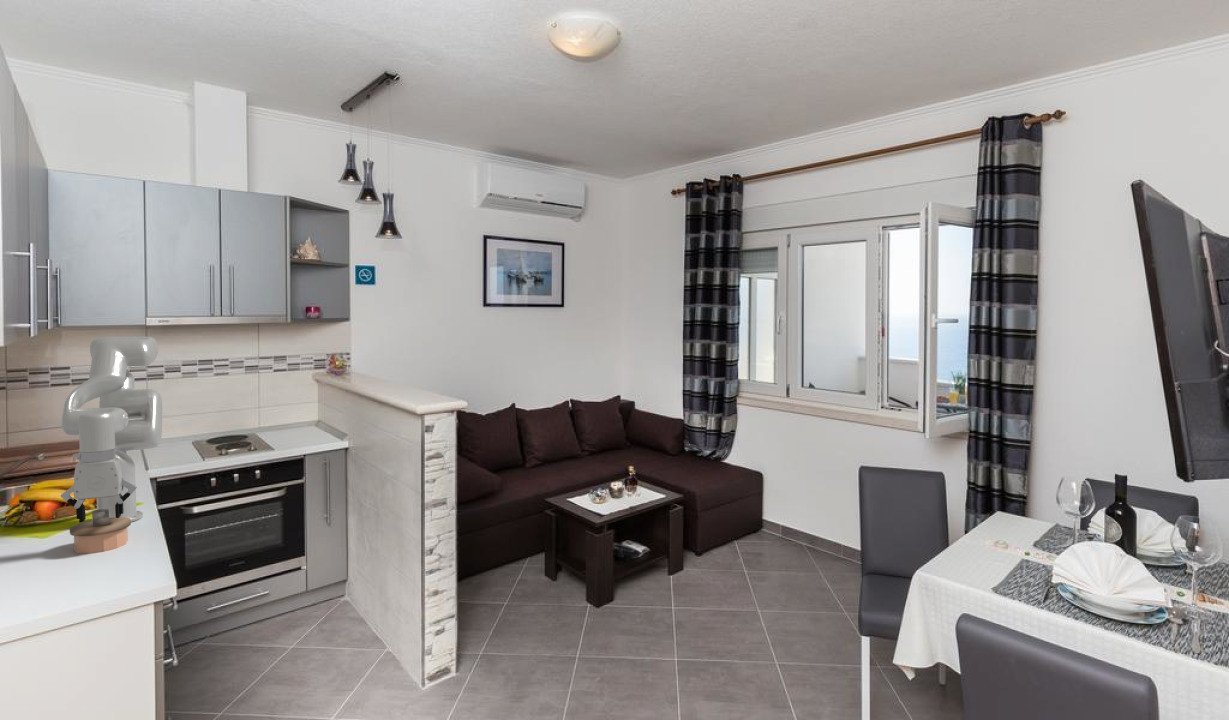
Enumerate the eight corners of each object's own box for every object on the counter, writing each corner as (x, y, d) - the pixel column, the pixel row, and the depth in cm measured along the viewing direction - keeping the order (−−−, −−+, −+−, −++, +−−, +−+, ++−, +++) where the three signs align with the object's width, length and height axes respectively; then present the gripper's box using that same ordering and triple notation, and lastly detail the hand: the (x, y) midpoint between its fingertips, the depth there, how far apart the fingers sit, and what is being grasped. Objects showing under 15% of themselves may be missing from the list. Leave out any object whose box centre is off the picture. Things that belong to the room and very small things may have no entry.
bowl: (81, 542, 171) (80, 525, 170) (130, 536, 176) (130, 519, 176) (70, 556, 161) (69, 537, 161) (122, 548, 167) (121, 531, 166)
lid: (63, 539, 160) (62, 520, 159) (77, 524, 171) (76, 507, 171) (125, 531, 166) (125, 513, 166) (135, 518, 177) (134, 501, 177)
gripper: (52, 462, 160) (55, 527, 161) (135, 455, 168) (137, 518, 169) (60, 456, 166) (63, 519, 167) (140, 450, 175) (142, 510, 176)
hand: (100, 518), depth 168 cm, fingers open, 7 cm apart
